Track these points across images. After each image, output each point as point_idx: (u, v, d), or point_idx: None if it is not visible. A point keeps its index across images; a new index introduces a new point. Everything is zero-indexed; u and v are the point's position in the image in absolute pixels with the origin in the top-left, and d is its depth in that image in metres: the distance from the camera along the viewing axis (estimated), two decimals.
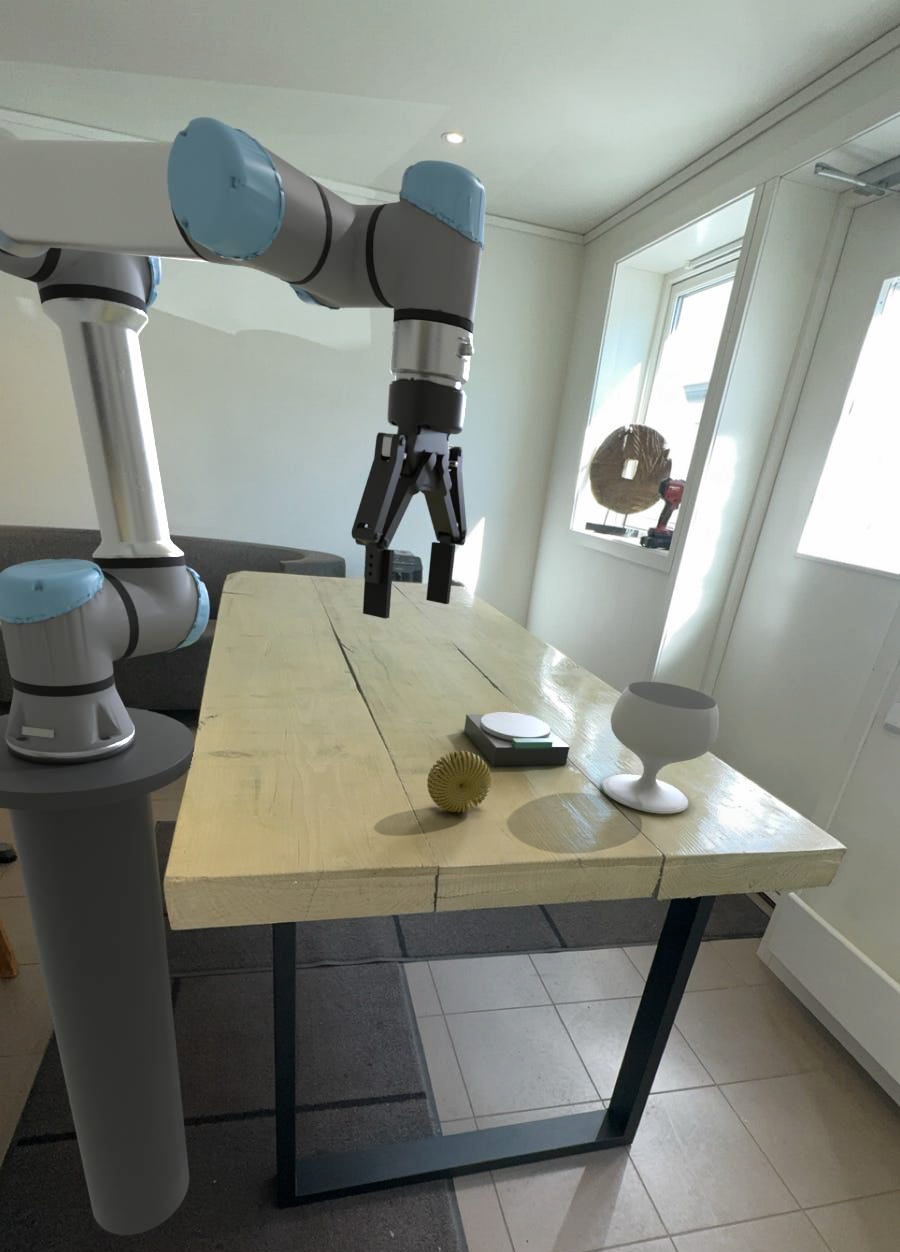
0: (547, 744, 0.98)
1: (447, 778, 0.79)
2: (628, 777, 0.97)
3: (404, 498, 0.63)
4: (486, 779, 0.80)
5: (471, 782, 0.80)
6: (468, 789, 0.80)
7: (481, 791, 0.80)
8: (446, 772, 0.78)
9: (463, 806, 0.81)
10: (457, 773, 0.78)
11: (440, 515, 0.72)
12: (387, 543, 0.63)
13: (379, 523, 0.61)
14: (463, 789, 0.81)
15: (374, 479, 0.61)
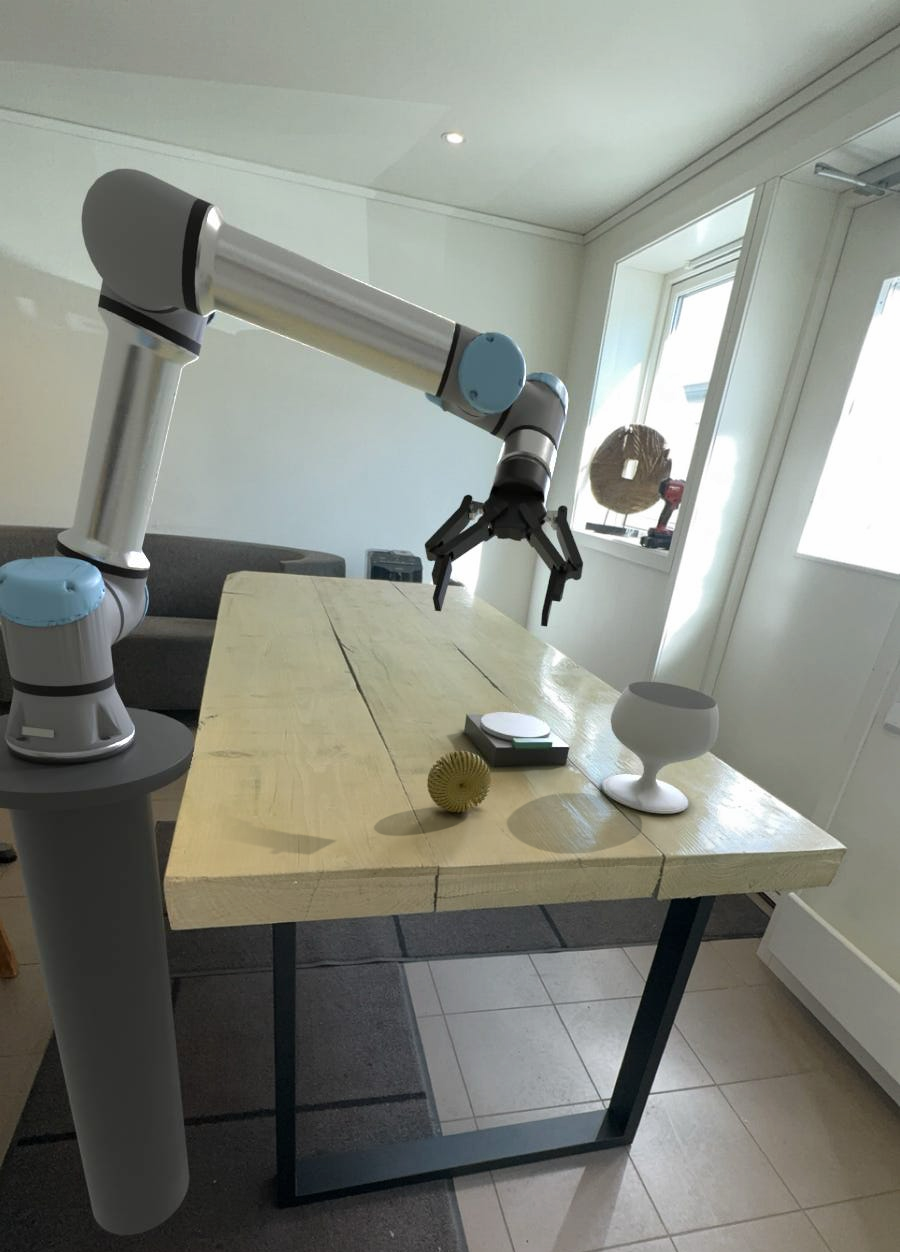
0: (547, 744, 0.98)
1: (447, 778, 0.79)
2: (628, 777, 0.97)
3: None
4: (486, 779, 0.80)
5: (471, 782, 0.80)
6: (468, 789, 0.80)
7: (481, 791, 0.80)
8: (446, 772, 0.78)
9: (463, 806, 0.81)
10: (457, 773, 0.78)
11: (467, 545, 0.85)
12: None
13: None
14: (463, 789, 0.81)
15: None
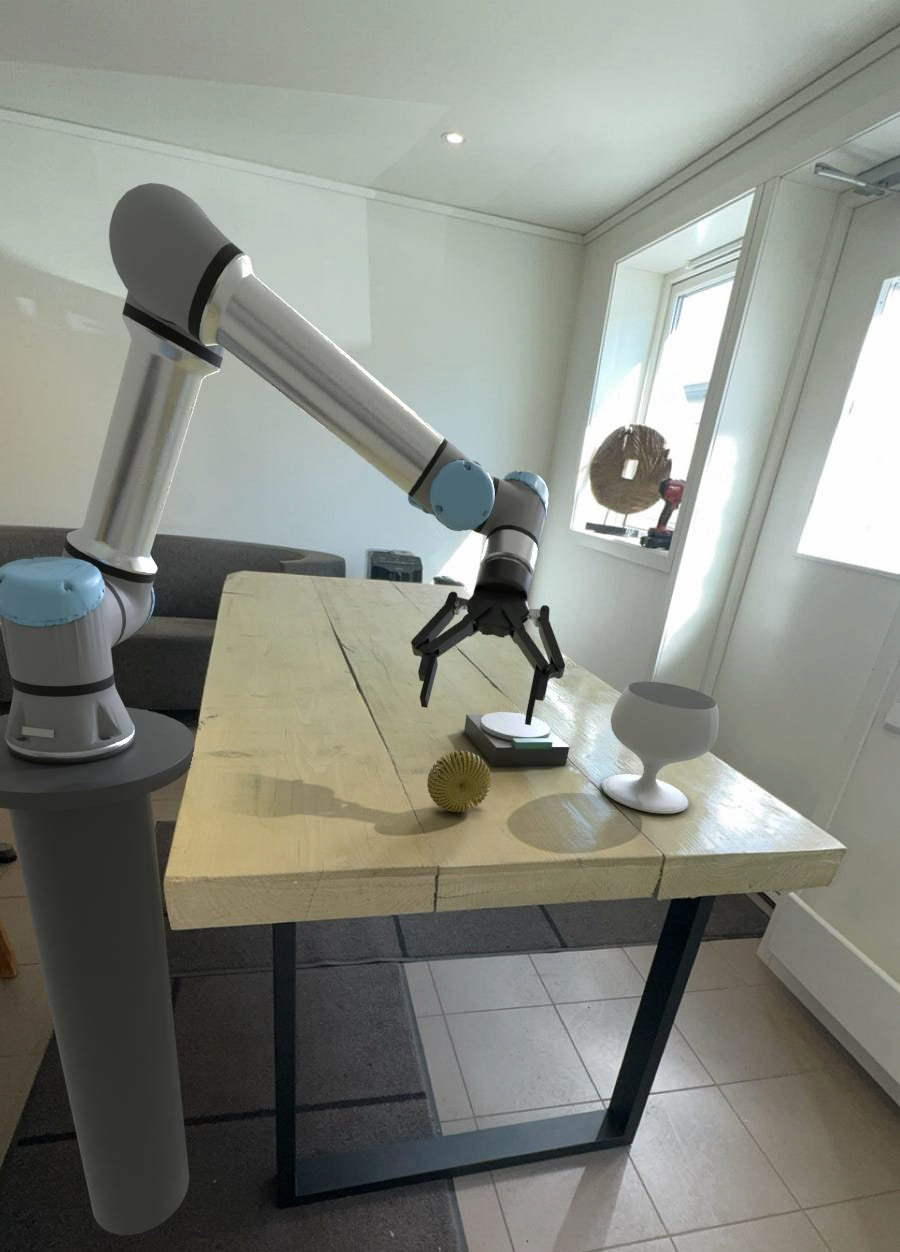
0: (547, 744, 0.98)
1: (447, 778, 0.79)
2: (628, 777, 0.97)
3: None
4: (486, 779, 0.80)
5: (471, 782, 0.80)
6: (468, 789, 0.80)
7: (481, 791, 0.80)
8: (446, 772, 0.78)
9: (463, 806, 0.81)
10: (457, 773, 0.78)
11: (452, 642, 0.87)
12: None
13: None
14: (463, 789, 0.81)
15: None
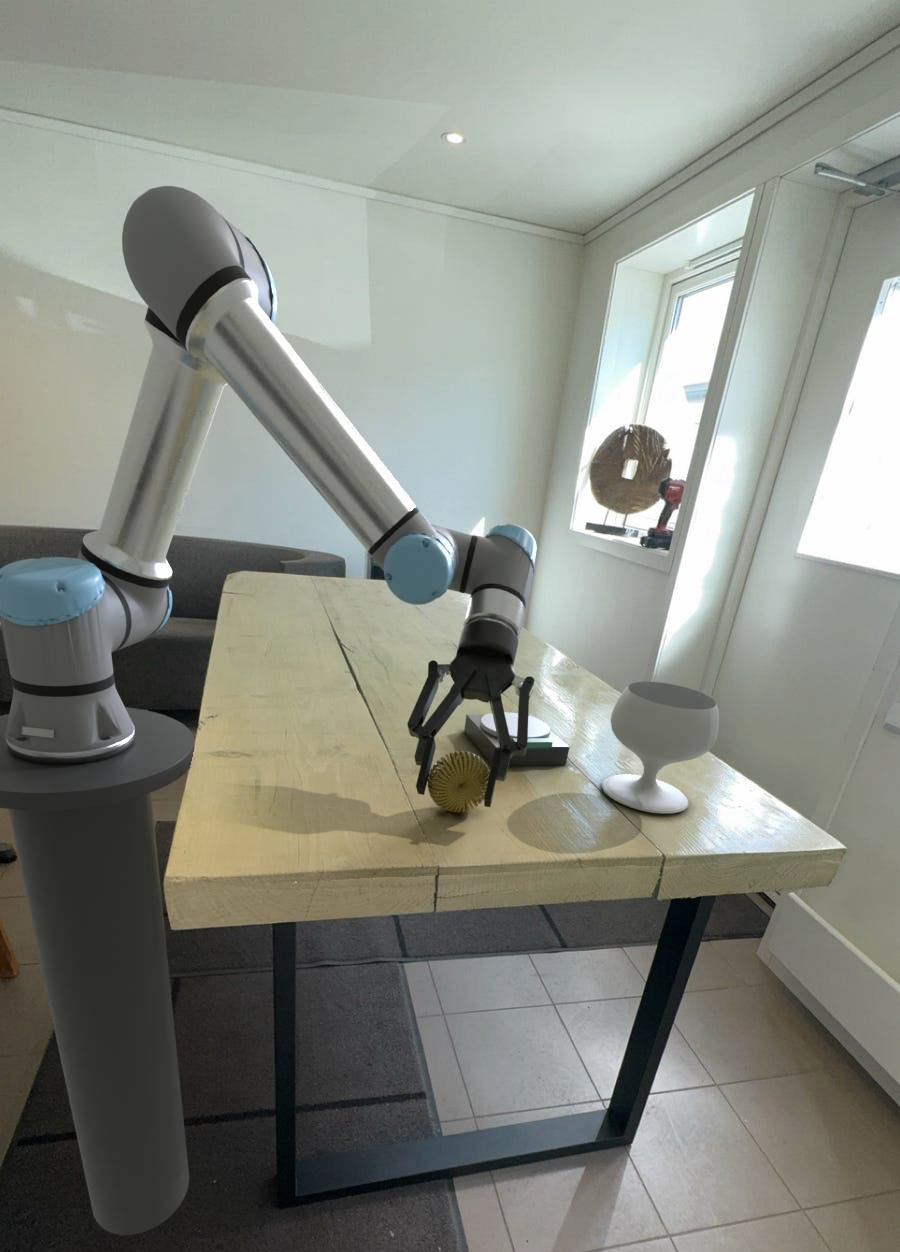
0: (547, 744, 0.98)
1: (447, 778, 0.79)
2: (628, 777, 0.97)
3: None
4: (486, 779, 0.80)
5: (471, 782, 0.80)
6: (469, 789, 0.80)
7: (481, 791, 0.80)
8: (446, 772, 0.78)
9: (463, 806, 0.81)
10: (457, 773, 0.78)
11: (446, 716, 0.82)
12: None
13: None
14: (463, 789, 0.81)
15: None
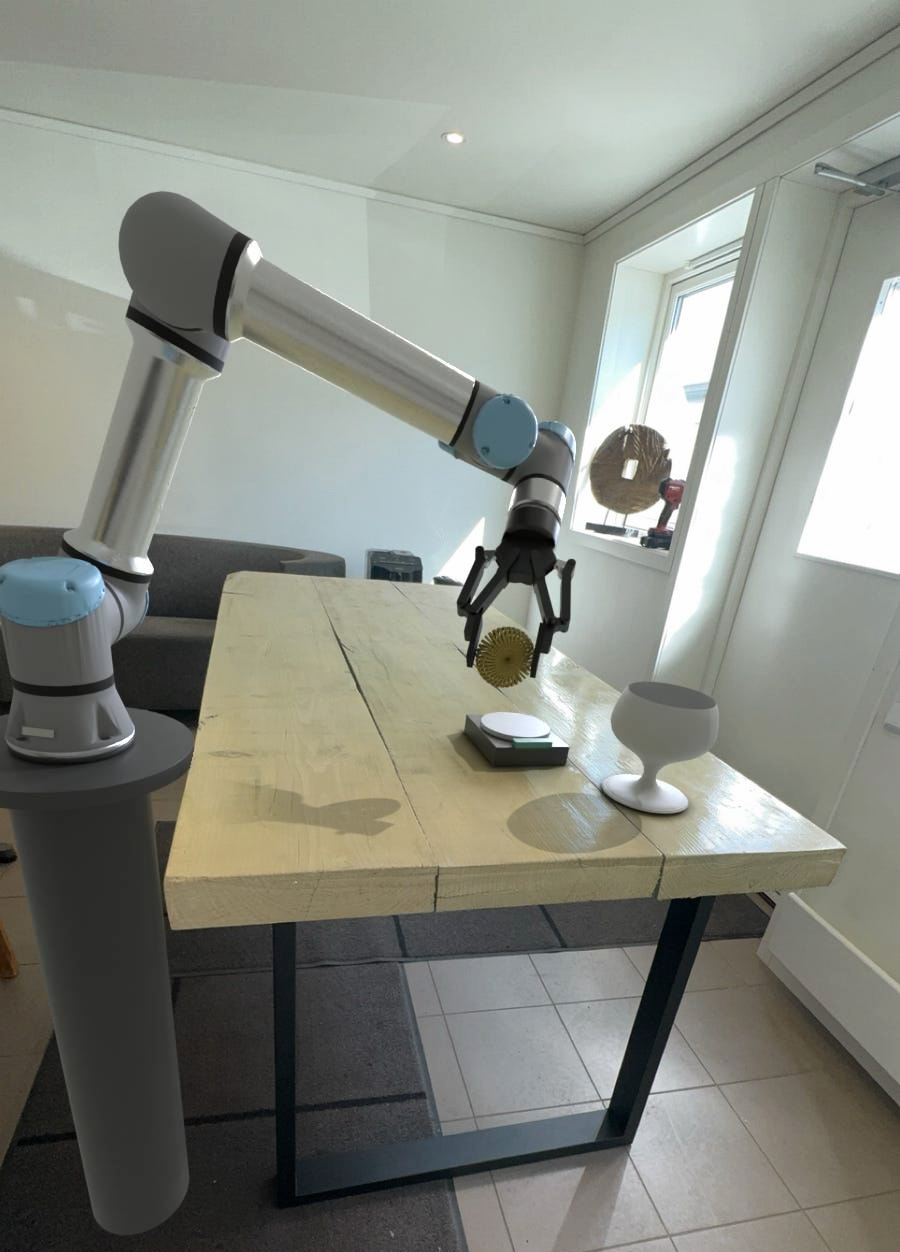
0: (547, 744, 0.98)
1: (495, 650, 0.84)
2: (628, 777, 0.96)
3: None
4: (531, 653, 0.85)
5: (517, 656, 0.85)
6: (514, 663, 0.85)
7: (526, 665, 0.85)
8: (494, 644, 0.83)
9: (509, 680, 0.86)
10: (505, 645, 0.83)
11: (492, 597, 0.87)
12: None
13: None
14: (509, 663, 0.85)
15: None
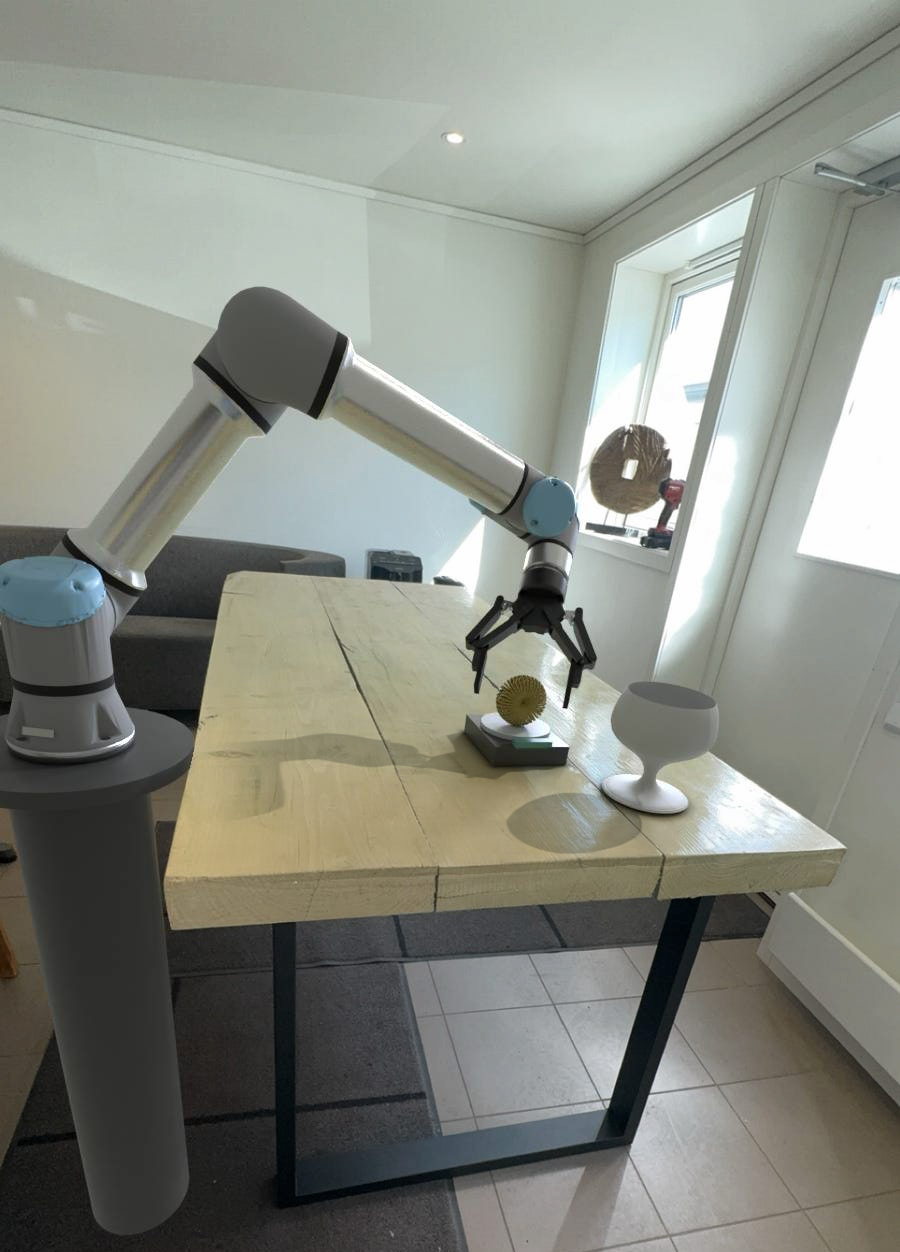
0: (547, 744, 0.98)
1: (513, 695, 0.99)
2: (628, 777, 0.96)
3: None
4: (543, 697, 1.00)
5: (531, 700, 1.00)
6: (529, 705, 1.00)
7: (539, 707, 1.01)
8: (512, 690, 0.99)
9: (524, 719, 1.01)
10: (521, 691, 0.99)
11: (500, 638, 1.03)
12: None
13: None
14: (525, 705, 1.01)
15: None
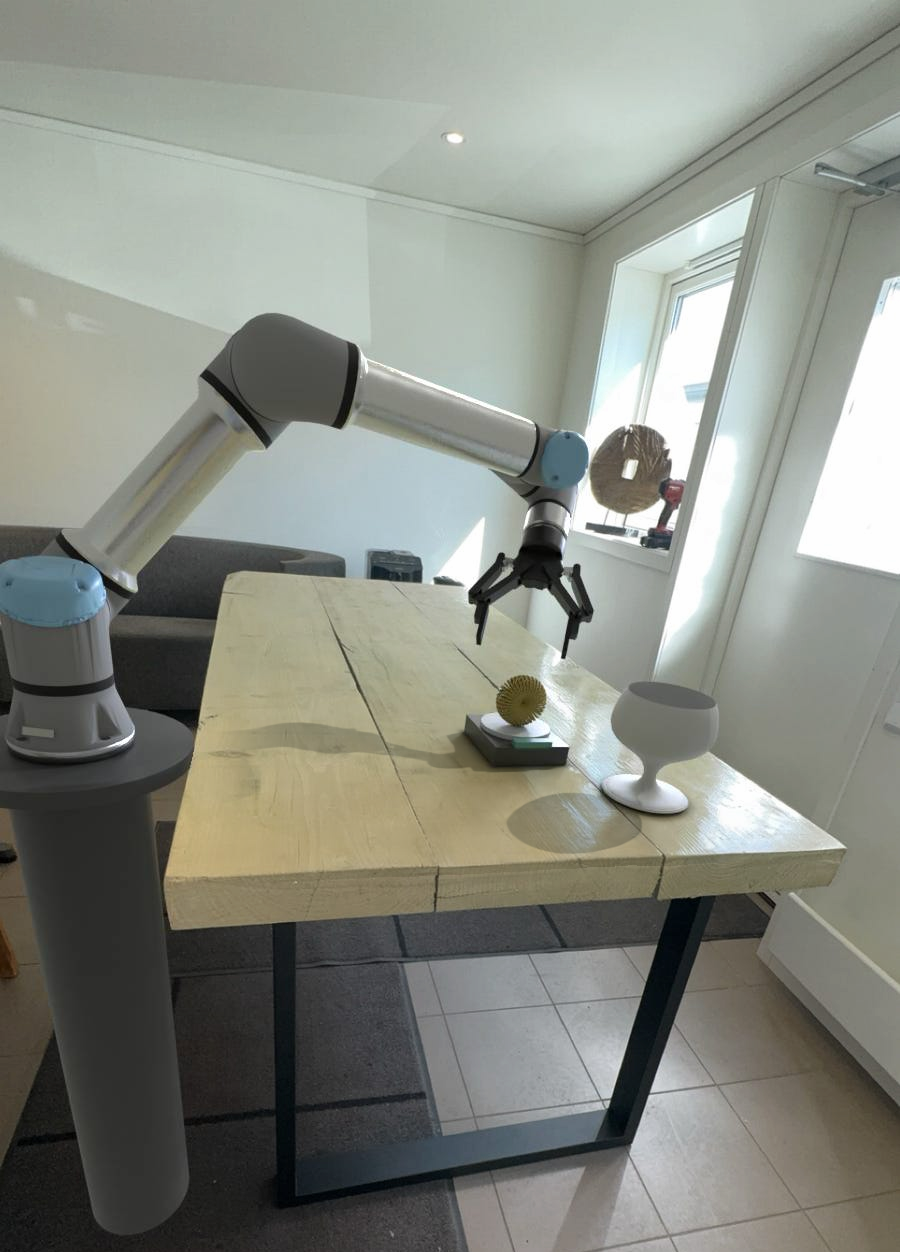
0: (547, 744, 0.98)
1: (513, 695, 0.99)
2: (628, 777, 0.96)
3: None
4: (543, 697, 1.00)
5: (531, 700, 1.00)
6: (529, 705, 1.00)
7: (539, 707, 1.01)
8: (512, 690, 0.99)
9: (524, 719, 1.01)
10: (521, 691, 0.99)
11: (501, 593, 1.07)
12: None
13: None
14: (525, 705, 1.01)
15: None
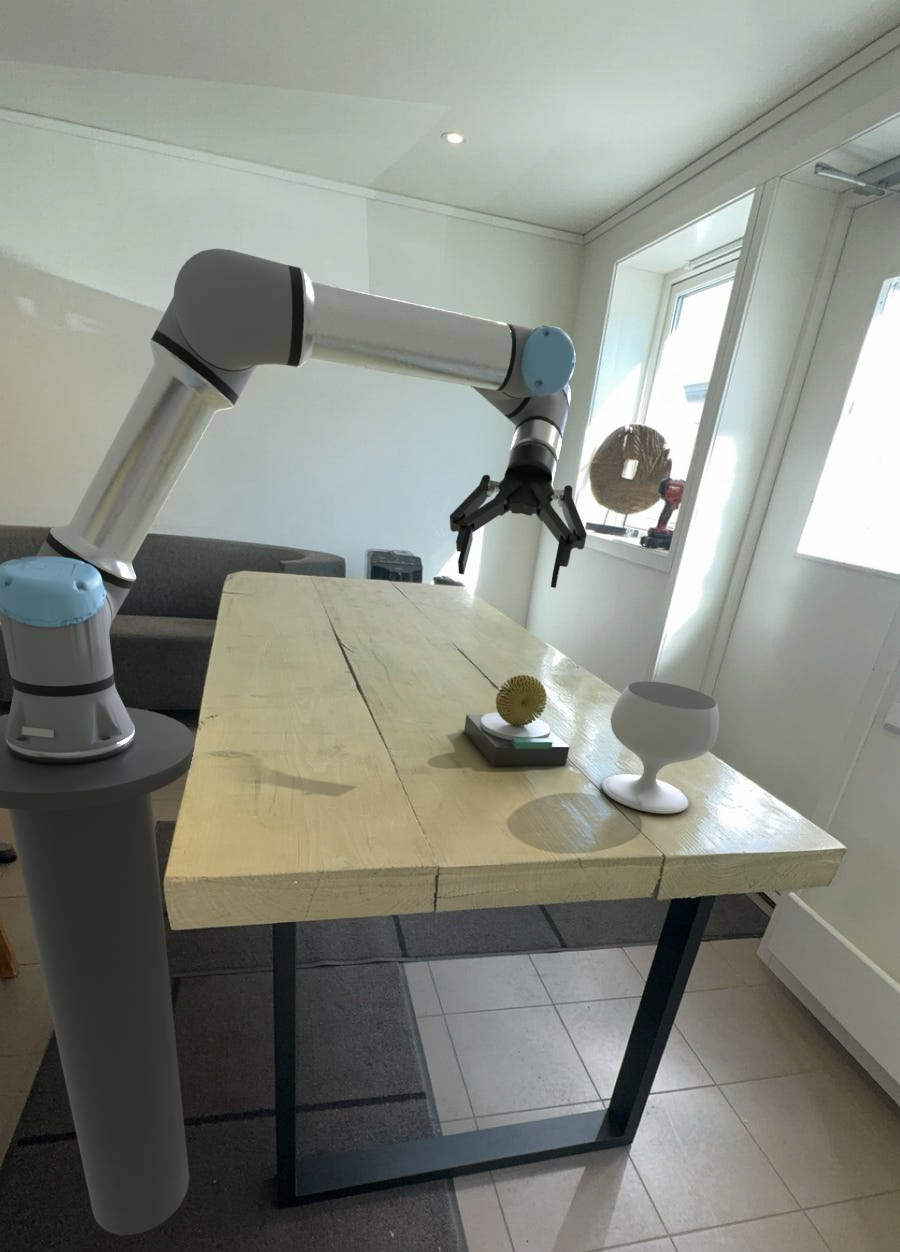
0: (547, 744, 0.98)
1: (513, 695, 0.99)
2: (628, 777, 0.96)
3: None
4: (543, 697, 1.00)
5: (531, 700, 1.00)
6: (529, 705, 1.00)
7: (539, 707, 1.01)
8: (512, 690, 0.99)
9: (524, 719, 1.01)
10: (521, 691, 0.99)
11: (486, 518, 0.98)
12: None
13: None
14: (525, 705, 1.01)
15: None
